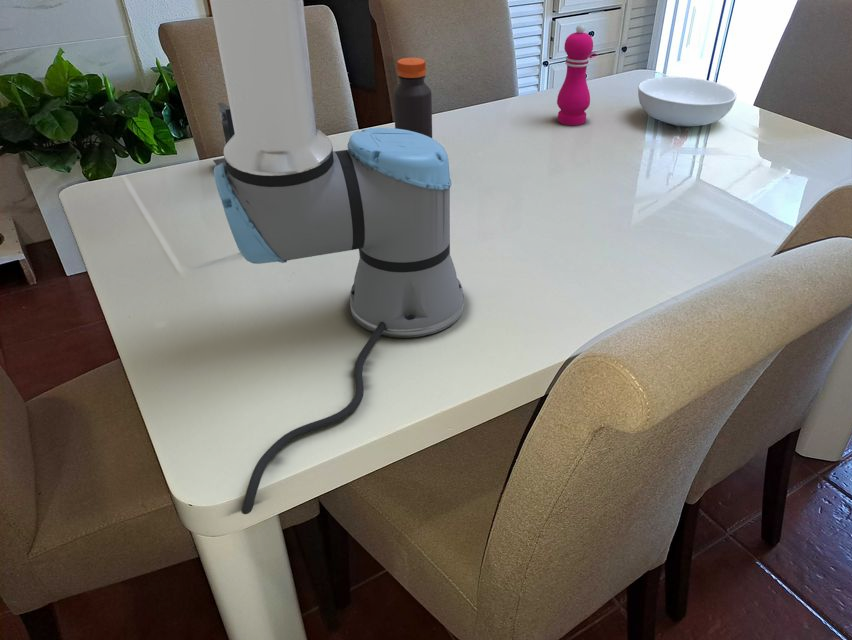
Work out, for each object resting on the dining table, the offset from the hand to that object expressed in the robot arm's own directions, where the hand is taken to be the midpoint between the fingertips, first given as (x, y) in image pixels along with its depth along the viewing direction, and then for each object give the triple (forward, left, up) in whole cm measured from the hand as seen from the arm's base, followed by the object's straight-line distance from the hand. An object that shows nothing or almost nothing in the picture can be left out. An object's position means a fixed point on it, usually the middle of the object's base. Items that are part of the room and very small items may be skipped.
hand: (233, 2), depth 107 cm
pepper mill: (+67, -23, -31) cm, 78 cm away
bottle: (+23, -15, -31) cm, 41 cm away
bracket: (+3, +9, -31) cm, 32 cm away
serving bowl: (+83, -42, -31) cm, 98 cm away
